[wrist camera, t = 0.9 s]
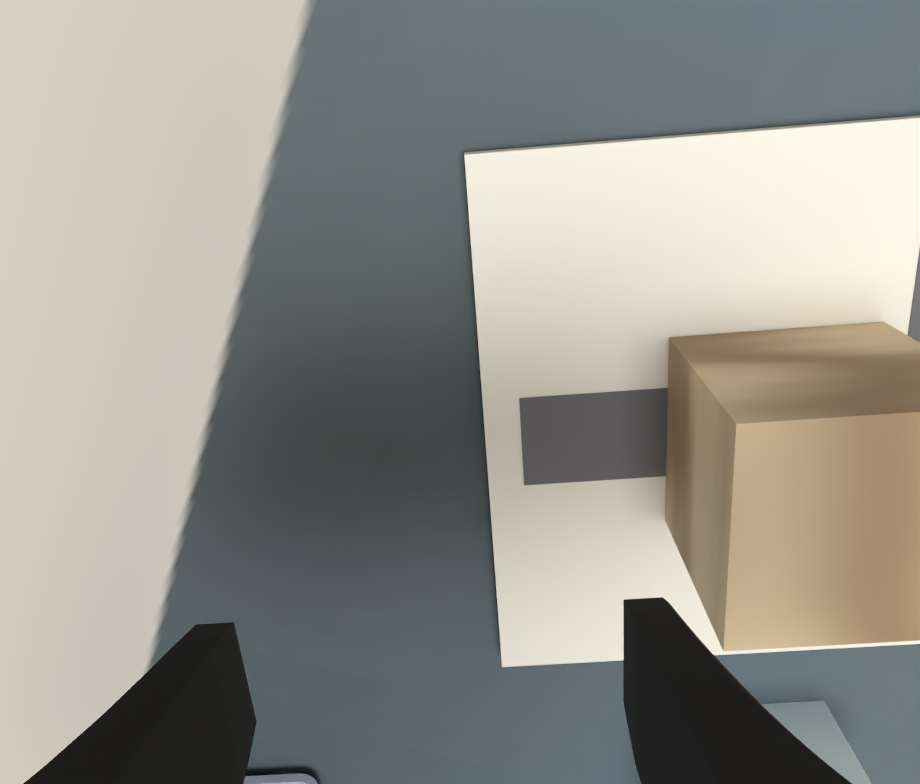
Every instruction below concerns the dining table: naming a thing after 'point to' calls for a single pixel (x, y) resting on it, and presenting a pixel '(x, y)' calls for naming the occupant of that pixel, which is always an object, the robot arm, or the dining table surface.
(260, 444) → the dining table surface
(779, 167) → the letter card
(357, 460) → the dining table surface
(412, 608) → the dining table surface
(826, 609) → the oak block
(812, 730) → the pale blue cube
